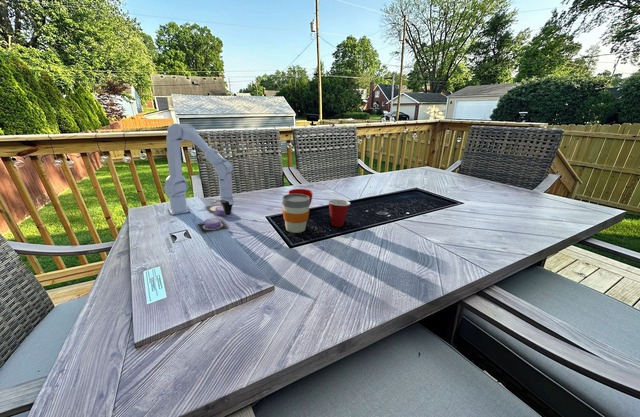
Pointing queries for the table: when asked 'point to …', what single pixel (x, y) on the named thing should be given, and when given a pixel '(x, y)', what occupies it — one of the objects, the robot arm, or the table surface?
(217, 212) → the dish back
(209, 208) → the pad
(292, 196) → the reusable coffee cup
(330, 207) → the plastic cup
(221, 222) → the pad
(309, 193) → the ceramic cup
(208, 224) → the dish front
